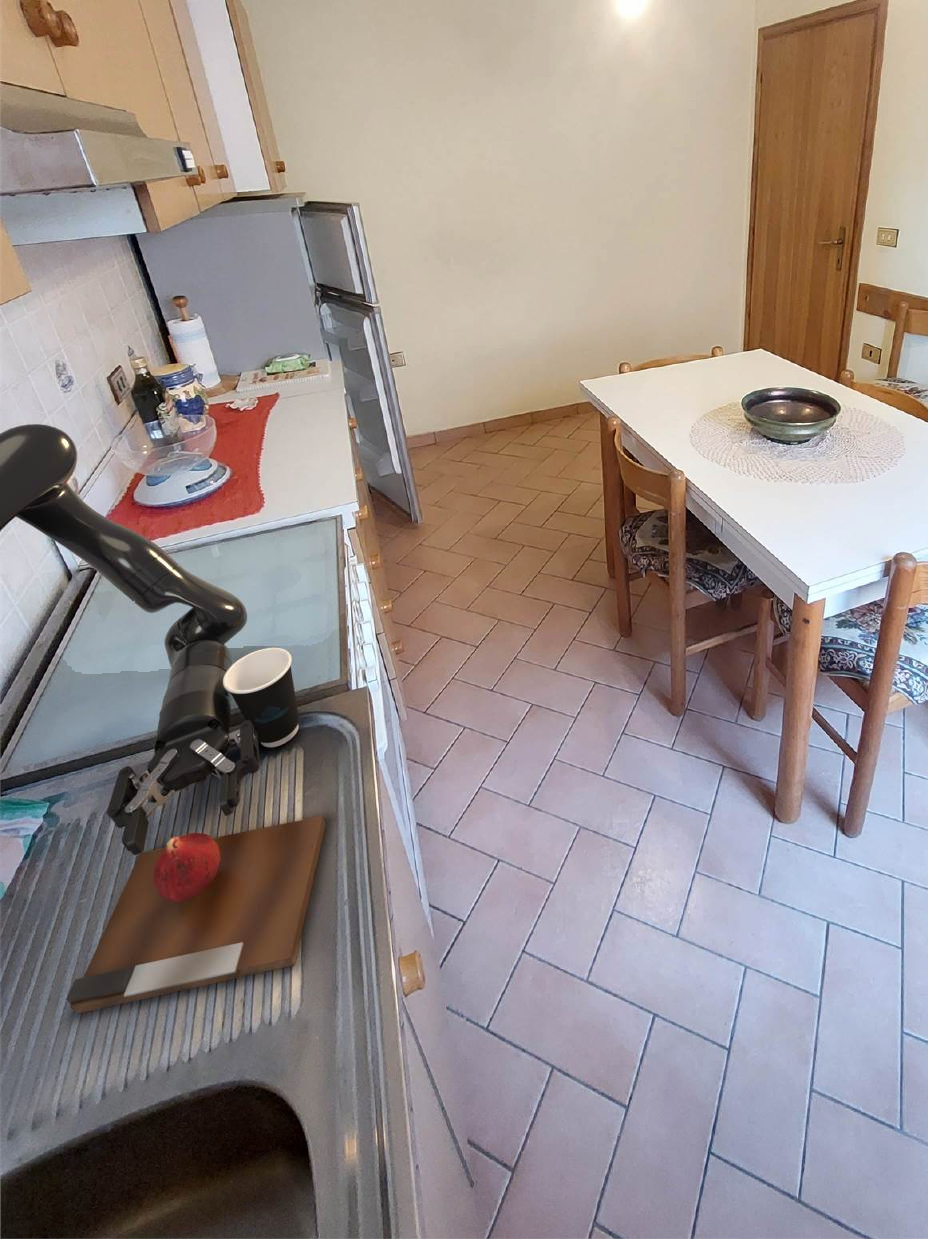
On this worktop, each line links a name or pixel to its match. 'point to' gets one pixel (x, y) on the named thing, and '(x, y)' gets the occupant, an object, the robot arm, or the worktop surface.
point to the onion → (186, 866)
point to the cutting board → (207, 920)
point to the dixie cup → (265, 694)
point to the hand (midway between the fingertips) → (181, 829)
